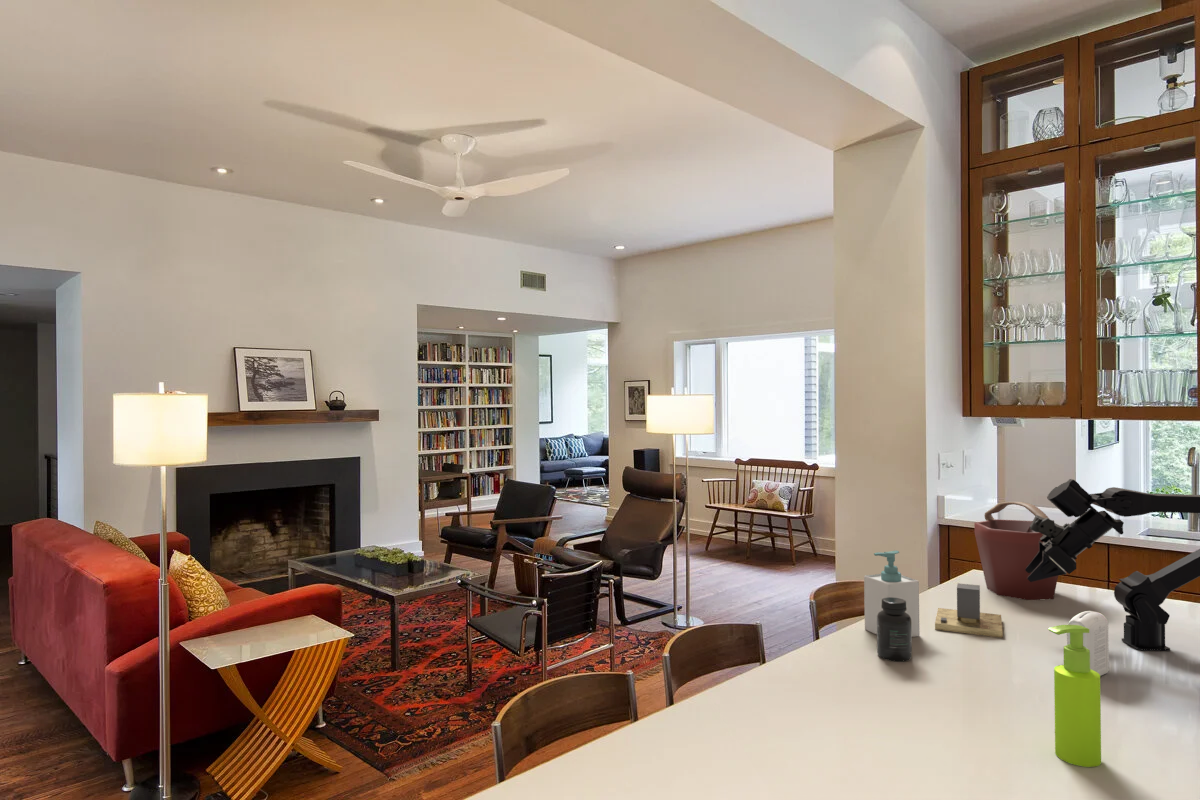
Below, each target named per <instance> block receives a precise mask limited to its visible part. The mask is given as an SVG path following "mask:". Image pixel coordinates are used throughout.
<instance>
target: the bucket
mask: <svg viewBox="0 0 1200 800" xmlns="http://www.w3.org/2000/svg"><path fill="white" fill-rule="evenodd" d="M1010 505H1016V506H1017V505H1018V506H1020V507H1023V508H1025V509H1026V510H1027V511H1029V513H1030V514H1033V516H1036V515H1038V516H1040V517H1043V518H1048V519H1050V518H1049V516H1048V515H1047V514H1046V513H1045V512H1044V511H1042V510H1041V509H1040V508H1039V507H1037V506H1036V505H1034V504H1032V503H1029V502H1024V501H1002V502H998V503H997V504H995V505H994V506H993V507H991V508H989V509H988V510H986V512H984V514H983V515H984V520H982V521H976V522H974V536H975V541H976V545H977V550H978V553H979V554H978V555H979V559H980V563H981V567H982V571H983V576H984V582H985V585H986V589H987V590H989V591H990V592H992V593H994V594H995V595H997V596H1001V597H1006V598H1012V599H1019V600H1023V601H1037V600H1038V601H1041V600H1040V599H1045V600H1054V599H1055V593H1056V589H1057V583H1058V578H1059V576H1054V577H1050V578H1046V579H1042V580H1038V581H1034V582H1030V581H1029V580H1028V579H1027V577H1028V576H1029V575H1030V574H1031V573H1032V572H1031V573H1028V572H1026V571H1025V569H1026V567H1027V566H1028V565H1029V563H1030V562H1031V561H1032V559H1033V558H1034V557H1035V556H1036V554H1037V553H1038V551H1039V541H1041V540H1040V538H1041V537H1042V536H1043V535H1044V534H1041V533H1039V532H1035V531H1033V530H1031V529H1030V528H1031V527H1030V525H1031V523H1032V521H1033V520H1020V519H1019V520H1018V519H1017V520H1016V519H996V518H994V517H993V515H992V514H996V513H1000V512H1001V511H1003V510H1004V509H1005V508H1006V507H1007V506H1010ZM1041 542H1042V541H1041ZM1042 543H1043V542H1042Z"/></svg>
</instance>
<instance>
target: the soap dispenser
mask: <svg viewBox="0 0 1200 800" xmlns="http://www.w3.org/2000/svg"><path fill="white" fill-rule="evenodd" d="M1047 630H1048V631H1049V632H1051V633H1053V634H1056V635H1058V636H1059V635H1064V634H1067V633H1070V644H1068V645H1067V644H1066V645H1064V646H1063V664H1060V665H1056V666H1054V668H1053V672H1054V673H1053V674H1054V676H1053V678H1054V679H1053V682H1054V685H1053V686H1054V688H1053V689H1054V754H1055V755H1056V757H1058V759H1060V760H1062V761H1064V762H1066V763H1068V764H1071V765H1073V766H1078V767H1085V768H1092V767H1093V768H1095V767H1100V765H1101V764H1102V728H1101V727H1102V723H1101V722H1102V717H1101V715H1102V714H1101V711H1102V710H1101V706H1102V705H1101V701H1102V700H1101V699H1102V698H1101V676H1100V674H1099V673H1097V672H1096V671H1094V670H1091V669H1090V650H1089V649H1087V648H1086V647H1084V646H1083V633H1089V629H1088V628H1085V627H1083V626H1081V625H1068V624H1058V625H1055V626H1052V627H1049V628H1047Z"/></svg>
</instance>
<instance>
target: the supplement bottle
mask: <svg viewBox="0 0 1200 800" xmlns="http://www.w3.org/2000/svg"><path fill="white" fill-rule="evenodd" d="M881 608H882V609H883V610H882V611H880V612H879V613H878V614H877V634H876V649H877V650H876V651H877V652H876V653H877V656H879V657H880V658H882V659H883V660H885V661H890V662H898V663H900V662H903V663H904V662H909V661H910V660H911V659H912V654H913V653H912V652H913V648H912V647H913V644H912V642H913V640H912V639H913V637H912V627H911V617H910V616H909V614H907V613H906V612H905V611H906V610H907V607H906V601H905V600H903V599H900V598H893V597H887V598H883V599H882V605H881Z"/></svg>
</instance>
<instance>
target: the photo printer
mask: <svg viewBox="0 0 1200 800" xmlns="http://www.w3.org/2000/svg"><path fill="white" fill-rule="evenodd" d="M1067 625H1081V626H1083V627H1085V628H1088V629H1089V633H1083V646H1084V647H1086V648H1087V649H1089V650H1090V669H1091V670H1094V671H1096V672H1097V673H1099V674H1100V677H1101V676H1104V675H1106V674H1108V672H1109V669H1110V662H1109V661H1110V659H1109V657H1110V654H1109V653H1110V652H1109V651H1110V650H1109V649H1110V648H1109V645H1110V644H1109V641H1110V640H1109V621H1108V619H1107V617H1106V616H1105V615H1104V614H1102V613H1100V612H1098V611H1093V610H1085V611H1082V612H1080V613H1077V614H1076V615H1074V616H1073V617H1072V618H1071V619H1070V620H1069V622H1068V623H1067ZM1066 641H1067V642H1066V645H1068V644H1070V633H1066Z"/></svg>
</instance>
